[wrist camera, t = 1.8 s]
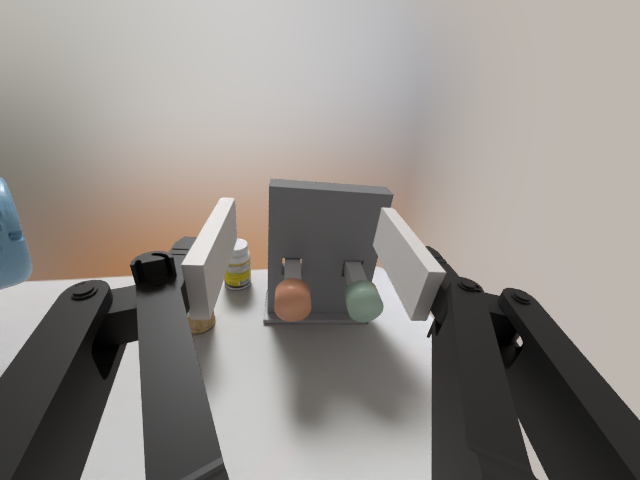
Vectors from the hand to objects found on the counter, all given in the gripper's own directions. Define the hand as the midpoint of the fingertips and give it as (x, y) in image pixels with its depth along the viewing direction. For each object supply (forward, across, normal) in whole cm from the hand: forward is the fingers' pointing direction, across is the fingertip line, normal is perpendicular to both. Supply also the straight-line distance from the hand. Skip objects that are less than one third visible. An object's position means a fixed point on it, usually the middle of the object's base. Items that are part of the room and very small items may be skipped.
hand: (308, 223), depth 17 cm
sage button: (+15, +9, -18) cm, 25 cm away
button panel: (+19, +4, -26) cm, 33 cm away
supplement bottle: (+26, -10, -26) cm, 38 cm away
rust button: (+15, 0, -18) cm, 24 cm away
